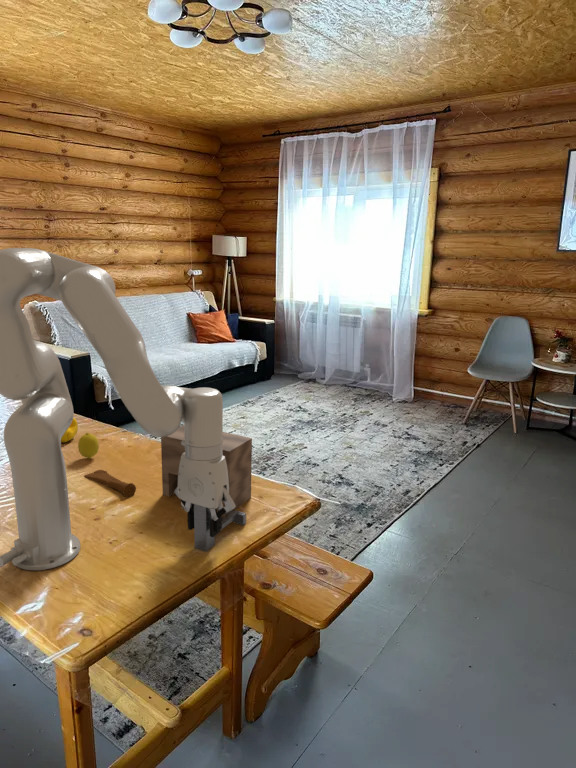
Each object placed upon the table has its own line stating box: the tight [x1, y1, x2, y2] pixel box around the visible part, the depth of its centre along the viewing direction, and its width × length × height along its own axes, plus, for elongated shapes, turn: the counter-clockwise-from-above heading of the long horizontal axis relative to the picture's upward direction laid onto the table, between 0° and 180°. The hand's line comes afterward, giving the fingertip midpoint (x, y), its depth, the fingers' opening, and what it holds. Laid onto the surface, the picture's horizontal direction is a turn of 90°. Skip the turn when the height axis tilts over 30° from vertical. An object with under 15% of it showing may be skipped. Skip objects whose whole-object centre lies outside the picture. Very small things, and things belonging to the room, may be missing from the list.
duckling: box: [61, 417, 79, 443], centre depth 166 cm, size 11×5×10 cm, turn 164°
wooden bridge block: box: [160, 424, 253, 510], centre depth 132 cm, size 10×20×16 cm, turn 63°
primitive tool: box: [83, 469, 137, 498], centre depth 139 cm, size 19×6×4 cm, turn 51°
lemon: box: [77, 432, 100, 460], centre depth 154 cm, size 6×6×8 cm
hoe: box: [193, 504, 247, 552], centre depth 115 cm, size 14×5×12 cm, turn 153°
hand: (204, 529), depth 111 cm, fingers open, 4 cm apart
